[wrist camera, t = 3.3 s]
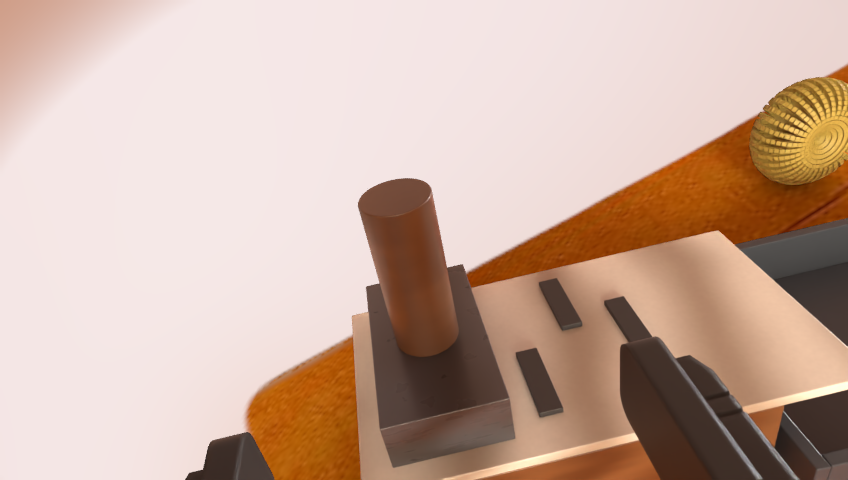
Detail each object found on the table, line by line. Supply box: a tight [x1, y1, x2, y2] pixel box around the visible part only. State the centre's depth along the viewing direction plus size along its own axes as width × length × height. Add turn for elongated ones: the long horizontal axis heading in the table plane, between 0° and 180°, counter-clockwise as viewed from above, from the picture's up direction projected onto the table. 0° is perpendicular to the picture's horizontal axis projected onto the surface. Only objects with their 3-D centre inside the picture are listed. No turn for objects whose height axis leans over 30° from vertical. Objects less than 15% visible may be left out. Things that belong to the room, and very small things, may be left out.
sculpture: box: [749, 77, 848, 185], centre depth 42 cm, size 8×4×8 cm, turn 101°
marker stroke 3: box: [604, 296, 652, 342], centre depth 27 cm, size 1×4×1 cm, turn 8°
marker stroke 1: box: [539, 278, 582, 331], centre depth 29 cm, size 1×4×1 cm, turn 8°
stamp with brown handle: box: [358, 178, 515, 468], centre depth 24 cm, size 5×9×9 cm, turn 8°
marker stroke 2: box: [516, 348, 564, 418], centre depth 25 cm, size 1×4×1 cm, turn 8°
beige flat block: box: [352, 230, 848, 480], centre depth 28 cm, size 20×11×6 cm, turn 98°
